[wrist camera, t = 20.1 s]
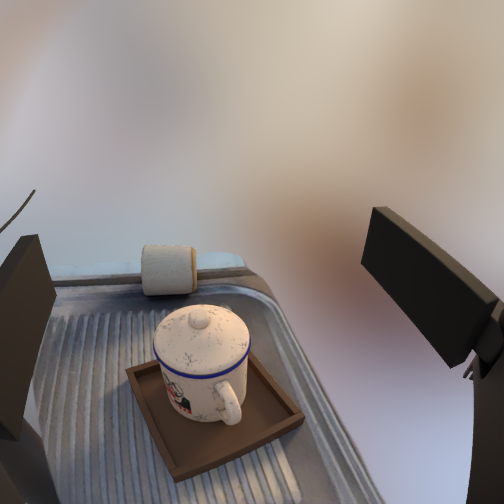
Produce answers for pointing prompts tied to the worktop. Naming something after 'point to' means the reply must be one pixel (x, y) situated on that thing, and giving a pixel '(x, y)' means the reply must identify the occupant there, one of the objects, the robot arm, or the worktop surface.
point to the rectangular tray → (212, 433)
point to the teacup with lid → (204, 362)
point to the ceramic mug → (168, 270)
